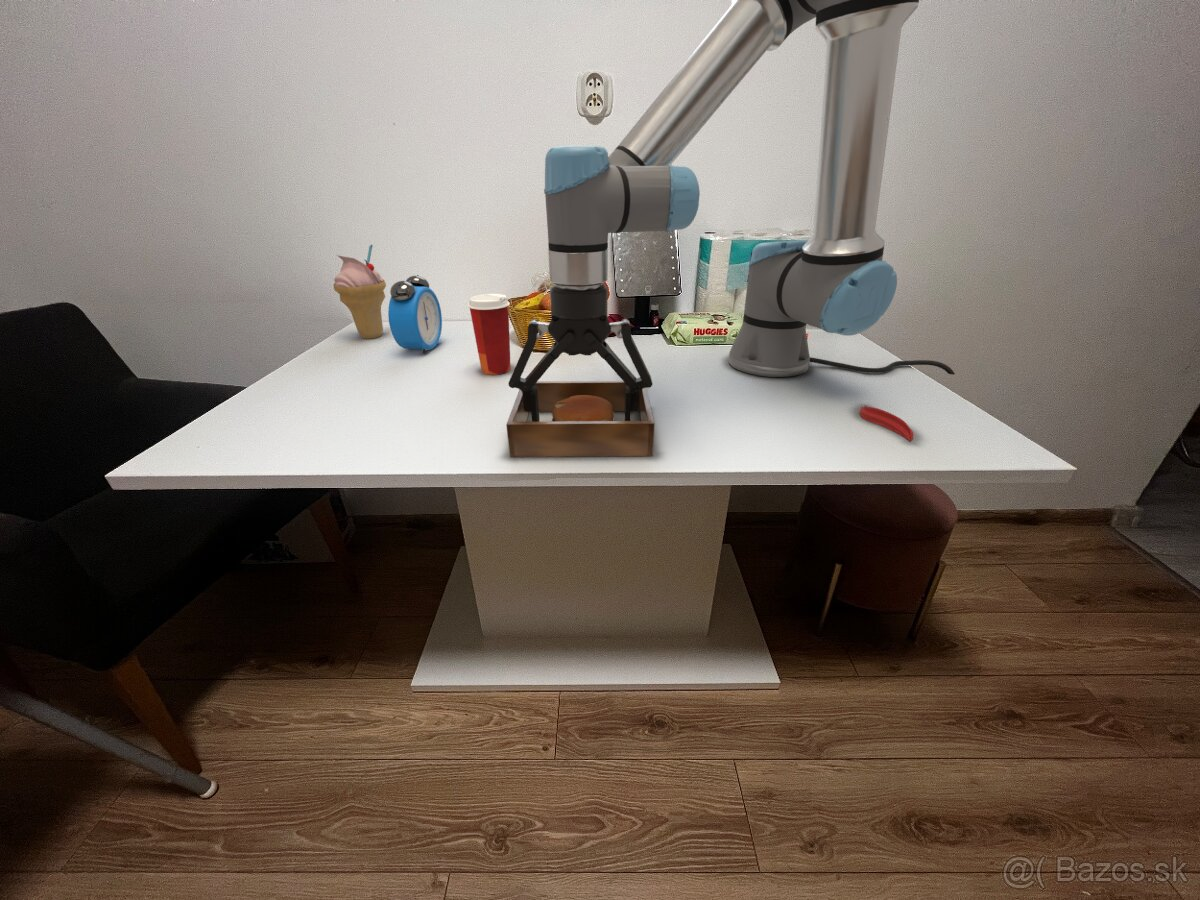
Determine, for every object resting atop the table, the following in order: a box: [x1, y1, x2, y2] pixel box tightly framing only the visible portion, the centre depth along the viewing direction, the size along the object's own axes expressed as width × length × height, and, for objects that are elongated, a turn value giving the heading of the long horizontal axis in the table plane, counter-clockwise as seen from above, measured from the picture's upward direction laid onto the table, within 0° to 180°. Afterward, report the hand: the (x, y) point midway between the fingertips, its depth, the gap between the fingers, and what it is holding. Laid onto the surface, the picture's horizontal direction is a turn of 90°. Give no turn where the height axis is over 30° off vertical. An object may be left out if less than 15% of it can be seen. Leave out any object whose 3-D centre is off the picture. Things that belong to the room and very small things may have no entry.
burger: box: [551, 395, 615, 421], centre depth 76 cm, size 10×9×5 cm
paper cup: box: [467, 293, 511, 376], centre depth 97 cm, size 8×8×14 cm
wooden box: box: [506, 380, 655, 458], centre depth 75 cm, size 20×16×5 cm
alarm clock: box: [387, 274, 443, 355], centre depth 109 cm, size 13×6×15 cm, turn 173°
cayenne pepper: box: [858, 404, 915, 442], centre depth 78 cm, size 12×5×2 cm, turn 0°
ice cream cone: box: [333, 244, 387, 340], centre depth 117 cm, size 11×11×20 cm
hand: (581, 430), depth 76 cm, fingers open, 13 cm apart
